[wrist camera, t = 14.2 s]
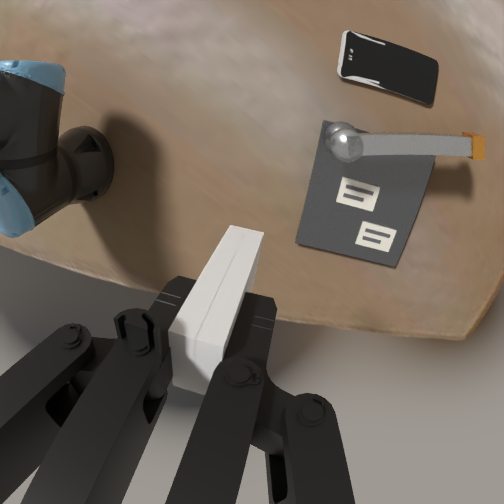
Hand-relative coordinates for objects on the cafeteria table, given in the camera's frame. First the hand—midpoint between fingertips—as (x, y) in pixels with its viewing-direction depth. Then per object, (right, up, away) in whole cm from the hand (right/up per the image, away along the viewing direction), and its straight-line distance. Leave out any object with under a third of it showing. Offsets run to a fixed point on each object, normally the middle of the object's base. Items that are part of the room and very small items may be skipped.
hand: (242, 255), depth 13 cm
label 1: (+16, +9, +28) cm, 34 cm away
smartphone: (+20, +27, +19) cm, 39 cm away
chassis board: (+18, +9, +29) cm, 35 cm away
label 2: (+20, +3, +31) cm, 37 cm away
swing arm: (+21, +15, +19) cm, 31 cm away
